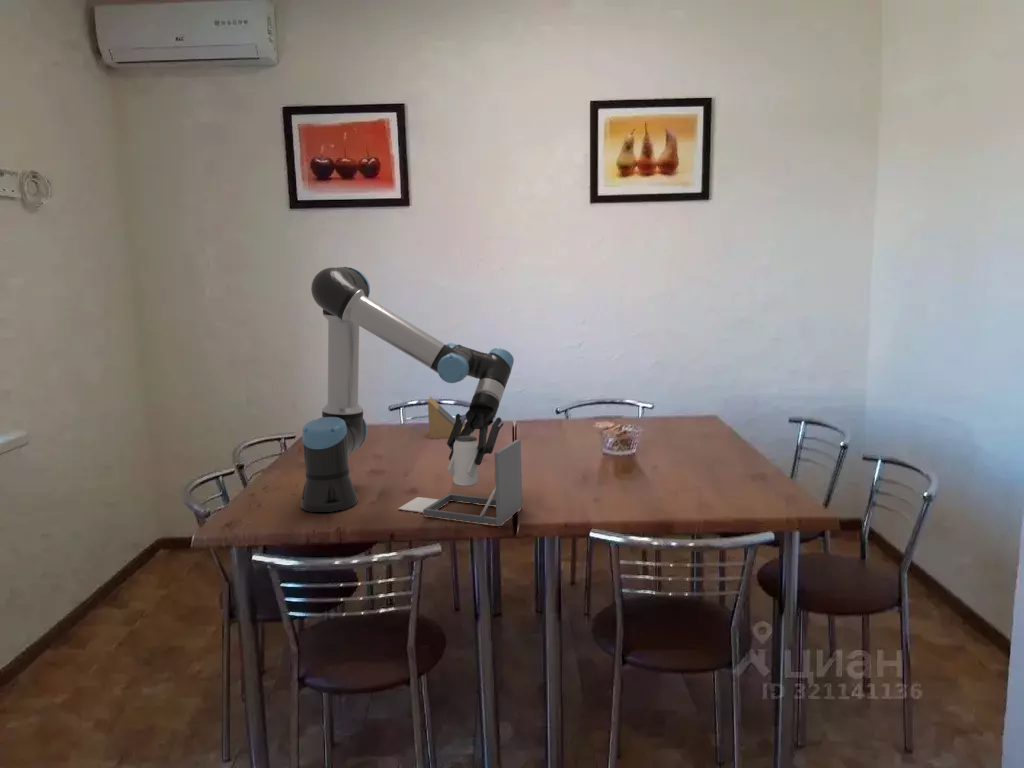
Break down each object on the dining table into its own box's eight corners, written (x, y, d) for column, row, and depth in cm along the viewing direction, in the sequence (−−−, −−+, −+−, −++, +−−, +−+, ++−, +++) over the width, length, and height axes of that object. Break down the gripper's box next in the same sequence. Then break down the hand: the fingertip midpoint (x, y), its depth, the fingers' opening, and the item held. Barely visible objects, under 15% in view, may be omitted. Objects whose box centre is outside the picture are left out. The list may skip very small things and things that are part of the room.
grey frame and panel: (423, 517, 185) (420, 446, 182) (449, 500, 197) (446, 433, 194) (500, 527, 176) (498, 453, 173) (522, 509, 189) (520, 439, 185)
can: (448, 482, 186) (448, 438, 184) (466, 477, 191) (466, 434, 189) (464, 488, 182) (465, 443, 180) (483, 483, 186) (483, 438, 184)
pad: (398, 510, 190) (398, 508, 190) (417, 498, 199) (417, 496, 199) (424, 514, 187) (424, 511, 187) (442, 502, 196) (442, 500, 196)
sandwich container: (470, 438, 268) (468, 399, 266) (429, 439, 268) (427, 400, 265) (471, 432, 277) (469, 394, 274) (431, 433, 276) (429, 396, 274)
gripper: (521, 409, 193) (496, 484, 181) (462, 404, 201) (434, 476, 189) (513, 393, 188) (487, 470, 176) (452, 389, 195) (423, 462, 183)
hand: (460, 473), depth 182 cm, fingers closed on can, 5 cm apart
